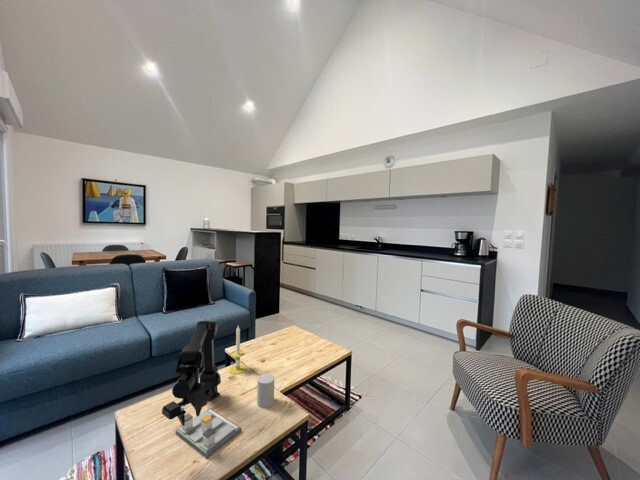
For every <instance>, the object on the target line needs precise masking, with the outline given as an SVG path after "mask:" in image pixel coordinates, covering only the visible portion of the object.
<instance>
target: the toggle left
mask: <svg viewBox="0 0 640 480" xmlns="http://www.w3.org/2000/svg"><path fill="white" fill-rule="evenodd" d="M193 419H194V417H193V414H190V413H187V414H186V413H185V425H184V426H182V424H181V423H180V424H181V425H180V427H182V428H183V429H185V430H187V429H188V428H190V427H191V426H193Z"/></svg>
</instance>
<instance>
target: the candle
mask: <svg viewBox="0 0 640 480" xmlns="http://www.w3.org/2000/svg"><path fill="white" fill-rule="evenodd" d="M235 330H236V331H235V332H236V333H235V335H236V336H235V337H236V338H235V344H236V345H235V350H234V351H231V353H230V357H231V358H235V365H232V366H231V367H230V368H229V369H228V372H229V373H230V374H231V375H240V374H243V373H245V372H246V371H247V366H246V365H243V364H241V357H244V356H245V354H246V351H245V350H241V328H240V326H239V325H237V328H236V329H235Z"/></svg>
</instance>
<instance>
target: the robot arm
mask: <svg viewBox="0 0 640 480" xmlns="http://www.w3.org/2000/svg"><path fill="white" fill-rule="evenodd" d="M196 323H197V324H196V328H195V330H194V333H193V335H192V337H191V339H190V342H189V343H188V344H186V345H184V347H183V348H182V350H181V352H179V355H178V359H177V363H176V367H175V374H176V375H177V374H179V377H178V379H177V381H176V382H175V384H174V385H173V387H172V391H171V392H172V393H171V394H172V395H173V397H174V398H176V399H181V401H179V402H175V400H174V401H173V400H172V401H170V402H169V403H167V404H165V405H164V406H163V407H162V409H161V415H163V416H164V417H165V418H167V419H168V420H174V419H175V418H176V417H177V419H178V421H179V422H180V424H182V426H184V425H185V415H186V413H187V411H186V410H185V407H186V406H187V405H189V404H191V406H192V408H194V410H195V415H196V416H195V417H198V416H199V415H200V414H201V411H202V409H203V407H205V406H207V405H208V402H210V401H211V400H213V399H215V398H217V397H219V396H220V392H218V386H219V385H221V383H222V380H221V374H220V373H219V369H218V366H217V365H216V364H215V350H214V349H215V344H214V341H215V340H214V339H215V336H216V335H217V333H218V330H219V324H218V322H216V321H209V320H199V321H197V322H196ZM202 349H203V352H202ZM202 363H203V369H202ZM200 369H202V370H201V374H200ZM199 374H200V375H199ZM199 376H200V377H199Z"/></svg>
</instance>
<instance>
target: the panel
mask: <svg viewBox="0 0 640 480" xmlns="http://www.w3.org/2000/svg"><path fill="white" fill-rule="evenodd" d="M206 415H209V416H211V417H212V427H211V429H212V430H213V431H215V442H213V443H212V444H211V445H210V446H208V447H207V446H206V445H204V444H203V433H204V432H205V431H204V430H202V429H201V419H202V418H203V417H205V416H206ZM241 432H242V427H241V426H240V425H238V424H237V423H235V422H233V421H232V420H230V419H228V418H227V417H225V416H224V415H222V414H220V413H218V412H217V411H216V410H214V409H213V408H210V407H209V408H208V409H206V410H205V411H203V412H202V413H201V412H200V414H199V416H198V417H197V416H195V417H193V426H191V427H190V428H188V429H187V430H185V429H183V428H182V427H181V426H180V427H178V428H177V429H175V435H176V436H178V437H179V438H180V439H181V440H183V441H184V442H185V443H187V445H189V446H190V447H191V448H193V449H194V450H195V451H197V452H198V453H199V454H201V455H202V456H203V457H204V458H205V459H209V458H210V457H211V456H212V455H214V454H215V453H216V452H217V451H219V450H220V449H221V448H222V447H224V446H225V445H226V444H227V443H228V442H230V441H231V440H232V439H233V438H235V437H236V436H238V435H239V433H241Z"/></svg>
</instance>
